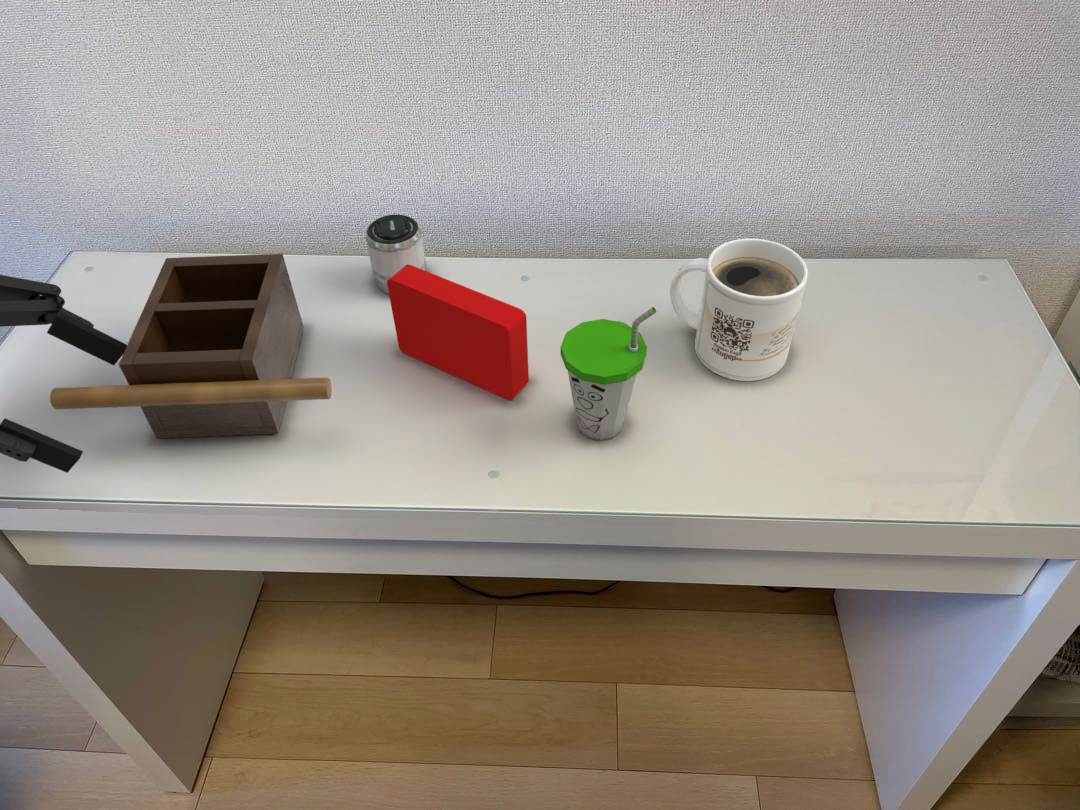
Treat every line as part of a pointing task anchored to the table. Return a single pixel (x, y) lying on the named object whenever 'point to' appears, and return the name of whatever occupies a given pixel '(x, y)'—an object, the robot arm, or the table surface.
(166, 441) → the table surface
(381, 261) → the camera lens
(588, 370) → the cup
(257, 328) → the divided box with dowel
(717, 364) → the mug
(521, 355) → the red rounded slab
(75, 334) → the robot arm
